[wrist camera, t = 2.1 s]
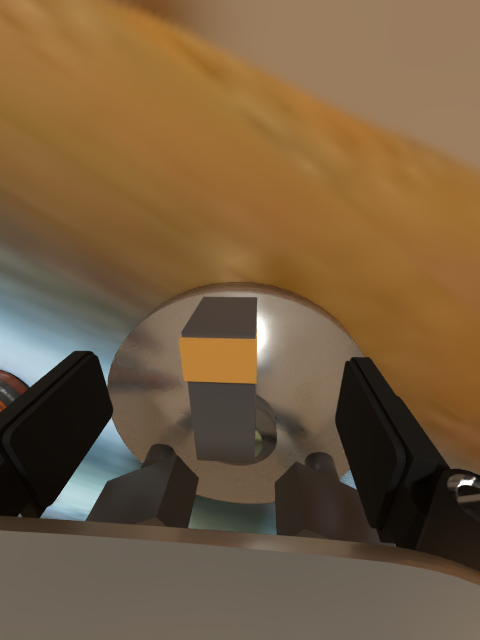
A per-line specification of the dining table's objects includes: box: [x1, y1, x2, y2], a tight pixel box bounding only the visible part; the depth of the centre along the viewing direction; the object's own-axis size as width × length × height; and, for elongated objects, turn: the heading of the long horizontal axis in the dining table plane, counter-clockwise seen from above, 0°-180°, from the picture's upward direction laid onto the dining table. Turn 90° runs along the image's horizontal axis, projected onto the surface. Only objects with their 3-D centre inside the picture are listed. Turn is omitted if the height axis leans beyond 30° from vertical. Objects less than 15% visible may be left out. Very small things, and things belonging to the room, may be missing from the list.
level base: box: [107, 282, 364, 504], centre depth 18 cm, size 18×18×4 cm
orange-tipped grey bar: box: [86, 444, 199, 528], centre depth 16 cm, size 6×2×6 cm, turn 121°
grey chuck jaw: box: [274, 452, 395, 547], centre depth 16 cm, size 6×2×6 cm, turn 61°
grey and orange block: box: [179, 297, 257, 463], centre depth 12 cm, size 6×2×6 cm, turn 1°
